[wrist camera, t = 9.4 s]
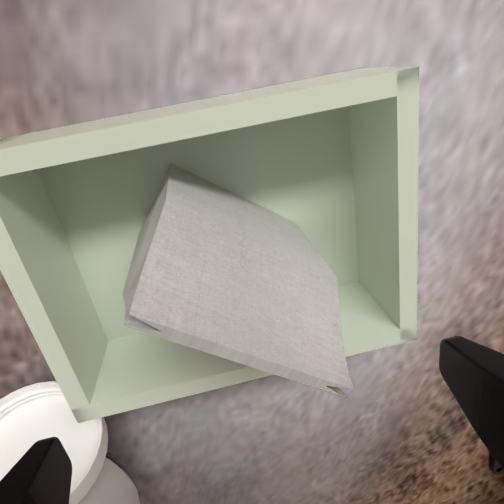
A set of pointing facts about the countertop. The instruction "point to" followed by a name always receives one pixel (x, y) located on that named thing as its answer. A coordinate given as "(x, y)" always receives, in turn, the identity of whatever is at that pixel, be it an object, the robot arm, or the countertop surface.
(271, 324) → the tea bag
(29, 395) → the spread jar
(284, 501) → the countertop surface
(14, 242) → the box
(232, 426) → the countertop surface
